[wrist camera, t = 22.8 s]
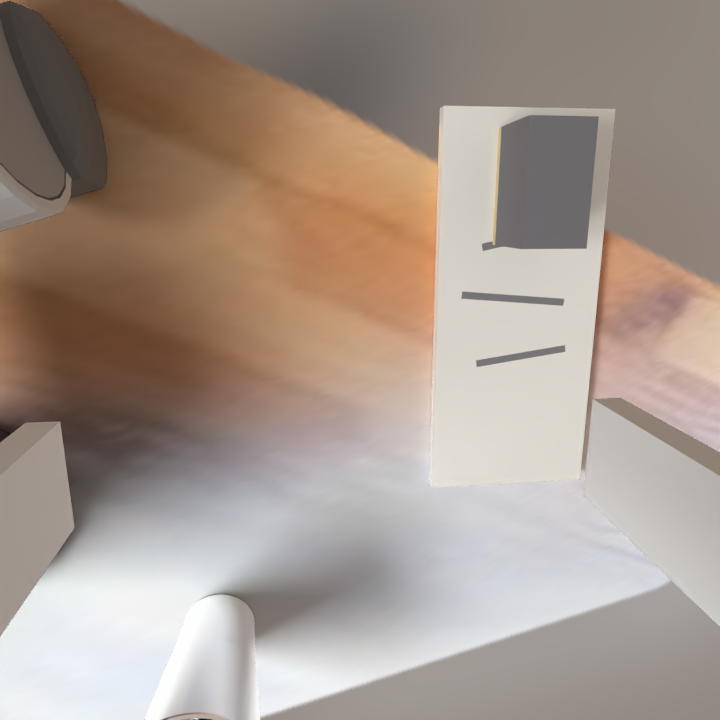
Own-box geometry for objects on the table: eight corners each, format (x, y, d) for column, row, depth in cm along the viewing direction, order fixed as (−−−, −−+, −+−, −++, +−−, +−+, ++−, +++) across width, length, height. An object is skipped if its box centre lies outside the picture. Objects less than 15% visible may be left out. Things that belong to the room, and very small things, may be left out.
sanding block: (492, 245, 48) (520, 249, 42) (498, 127, 45) (529, 115, 40) (550, 244, 48) (586, 248, 42) (559, 128, 46) (598, 116, 40)
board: (429, 482, 53) (432, 488, 52) (439, 108, 46) (443, 105, 45) (573, 473, 55) (580, 479, 54) (607, 111, 47) (615, 108, 46)
